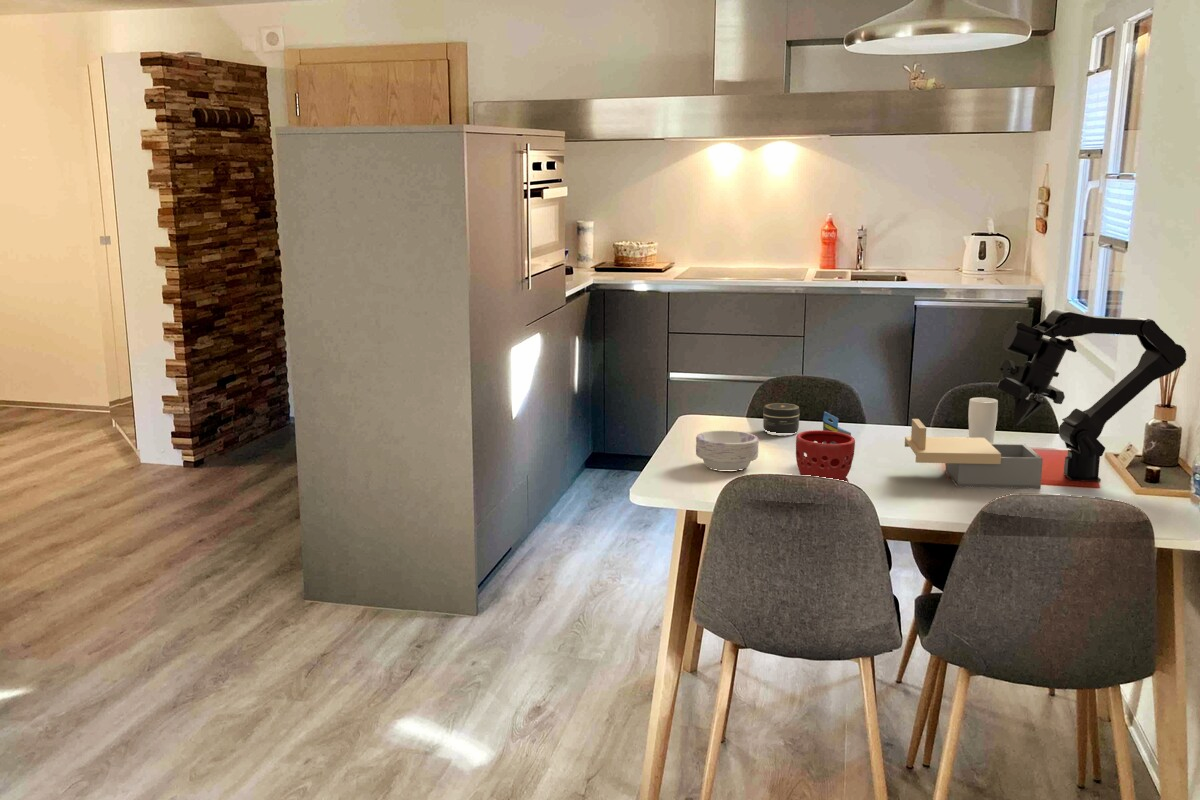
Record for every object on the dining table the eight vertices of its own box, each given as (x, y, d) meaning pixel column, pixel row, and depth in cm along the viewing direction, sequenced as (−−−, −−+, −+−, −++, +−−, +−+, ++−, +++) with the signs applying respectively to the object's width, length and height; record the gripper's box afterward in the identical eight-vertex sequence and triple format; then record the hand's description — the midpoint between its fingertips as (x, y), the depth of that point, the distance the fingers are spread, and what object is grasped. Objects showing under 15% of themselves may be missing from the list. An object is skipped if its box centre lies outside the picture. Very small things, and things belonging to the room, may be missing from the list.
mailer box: (1023, 472, 251) (1025, 443, 249) (1040, 488, 237) (1042, 458, 236) (945, 471, 253) (946, 442, 252) (957, 487, 239) (959, 457, 238)
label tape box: (851, 466, 259) (853, 417, 256) (836, 467, 258) (837, 418, 256) (836, 457, 267) (837, 410, 265) (821, 458, 266) (822, 410, 264)
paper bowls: (770, 467, 259) (771, 435, 257) (730, 479, 248) (731, 446, 247) (723, 456, 270) (723, 426, 268) (683, 467, 259) (683, 436, 258)
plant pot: (794, 494, 236) (796, 441, 233) (794, 478, 248) (796, 428, 246) (854, 496, 233) (856, 443, 231) (851, 480, 246) (853, 430, 244)
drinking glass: (993, 456, 267) (997, 397, 264) (995, 462, 260) (999, 403, 257) (965, 454, 268) (968, 396, 265) (966, 461, 262) (970, 401, 259)
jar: (794, 428, 300) (794, 402, 299) (803, 436, 291) (803, 409, 289) (759, 429, 300) (759, 403, 298) (767, 437, 290) (767, 410, 289)
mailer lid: (983, 447, 252) (985, 417, 250) (1000, 464, 236) (1002, 432, 235) (904, 446, 254) (905, 416, 252) (916, 462, 238) (917, 430, 237)
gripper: (1039, 353, 252) (1011, 411, 257) (993, 344, 241) (965, 406, 246) (1078, 372, 244) (1048, 432, 249) (1033, 364, 233) (1002, 427, 238)
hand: (1015, 424), depth 245 cm, fingers closed
